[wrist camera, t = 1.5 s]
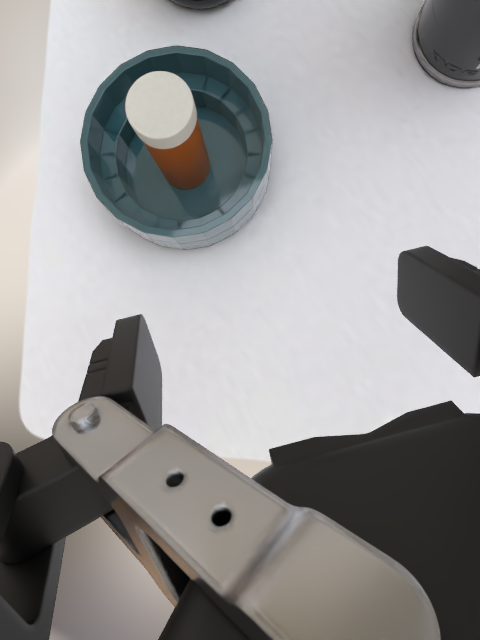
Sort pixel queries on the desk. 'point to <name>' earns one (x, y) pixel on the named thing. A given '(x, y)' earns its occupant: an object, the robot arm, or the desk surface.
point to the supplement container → (199, 3)
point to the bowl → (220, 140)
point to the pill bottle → (169, 127)
